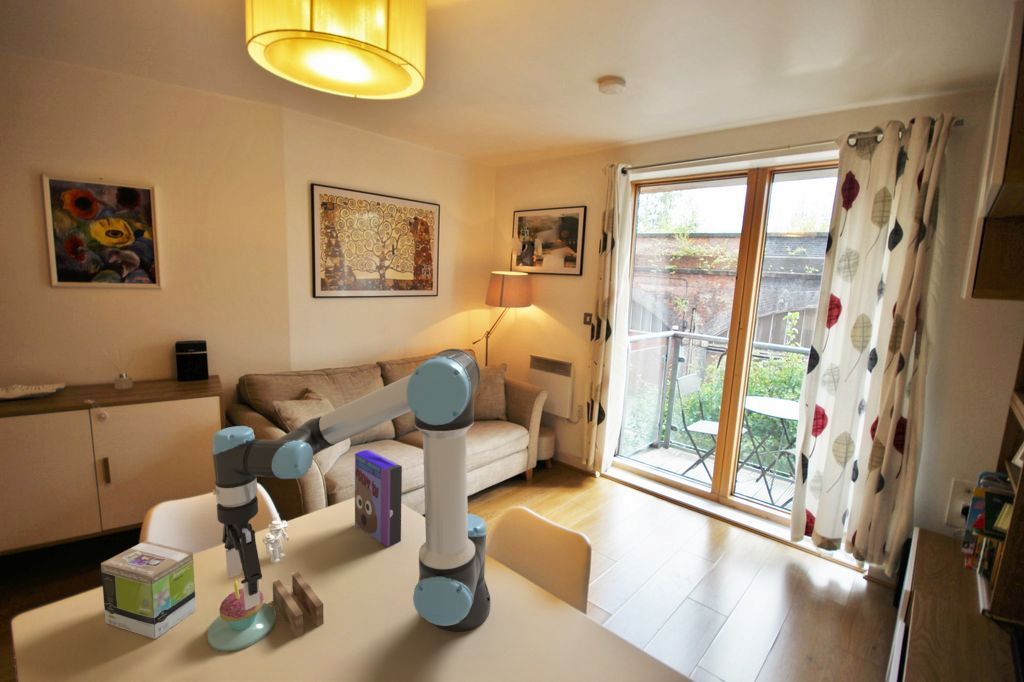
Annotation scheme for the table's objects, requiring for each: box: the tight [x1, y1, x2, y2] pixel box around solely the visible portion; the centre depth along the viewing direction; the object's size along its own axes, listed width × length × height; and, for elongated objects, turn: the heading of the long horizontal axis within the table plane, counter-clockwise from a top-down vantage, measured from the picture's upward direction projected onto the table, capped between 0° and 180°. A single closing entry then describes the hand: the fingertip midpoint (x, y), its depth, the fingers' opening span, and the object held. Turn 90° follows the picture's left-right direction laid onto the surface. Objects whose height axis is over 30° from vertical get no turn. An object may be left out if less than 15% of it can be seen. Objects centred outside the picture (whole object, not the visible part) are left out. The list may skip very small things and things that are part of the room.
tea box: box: [100, 540, 197, 640], centre depth 103 cm, size 15×10×15 cm, turn 74°
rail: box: [272, 579, 304, 638], centre depth 106 cm, size 15×2×5 cm, turn 45°
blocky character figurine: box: [262, 512, 290, 564], centre depth 126 cm, size 9×4×12 cm, turn 173°
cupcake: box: [219, 578, 264, 631], centre depth 101 cm, size 9×8×12 cm
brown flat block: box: [291, 571, 324, 628], centre depth 109 cm, size 15×2×5 cm, turn 45°
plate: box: [207, 602, 276, 652], centre depth 102 cm, size 13×13×1 cm
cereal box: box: [354, 449, 403, 549], centre depth 140 cm, size 17×5×24 cm, turn 50°
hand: (243, 590), depth 101 cm, fingers open, 13 cm apart
